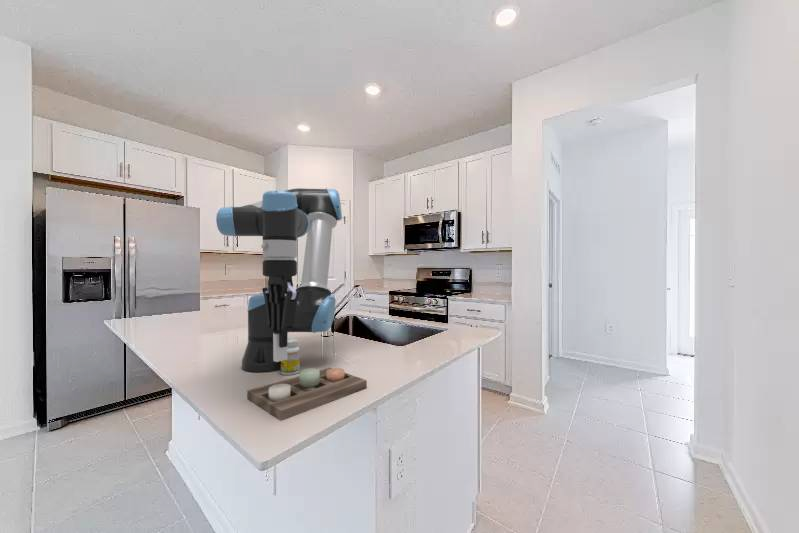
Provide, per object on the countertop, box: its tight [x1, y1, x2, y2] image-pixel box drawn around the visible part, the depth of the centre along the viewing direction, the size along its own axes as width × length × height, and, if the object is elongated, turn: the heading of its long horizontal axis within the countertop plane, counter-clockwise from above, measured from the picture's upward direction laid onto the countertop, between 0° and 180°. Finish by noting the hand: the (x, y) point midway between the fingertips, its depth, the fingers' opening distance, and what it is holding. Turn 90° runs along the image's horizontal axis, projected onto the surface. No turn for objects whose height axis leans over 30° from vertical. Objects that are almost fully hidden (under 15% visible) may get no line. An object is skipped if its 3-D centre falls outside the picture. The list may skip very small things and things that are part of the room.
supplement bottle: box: [280, 338, 301, 376], centre depth 97 cm, size 5×5×10 cm
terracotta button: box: [326, 367, 346, 383], centre depth 87 cm, size 5×5×3 cm
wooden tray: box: [246, 367, 368, 421], centre depth 81 cm, size 16×24×2 cm, turn 138°
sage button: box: [299, 367, 321, 388], centre depth 81 cm, size 5×5×3 cm
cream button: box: [269, 384, 291, 402], centre depth 75 cm, size 5×5×3 cm
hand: (280, 359), depth 76 cm, fingers closed
